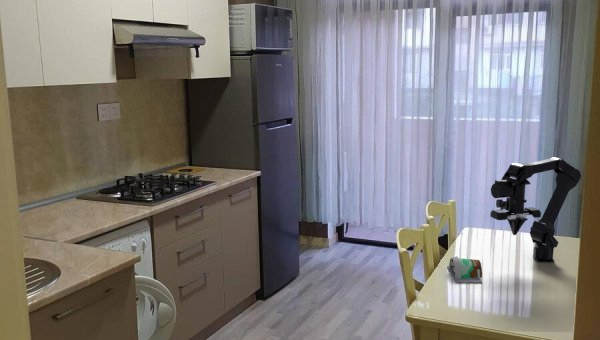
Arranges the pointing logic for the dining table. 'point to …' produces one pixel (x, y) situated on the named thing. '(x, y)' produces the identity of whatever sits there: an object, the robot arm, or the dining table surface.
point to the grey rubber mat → (464, 280)
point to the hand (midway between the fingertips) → (514, 234)
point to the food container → (466, 268)
